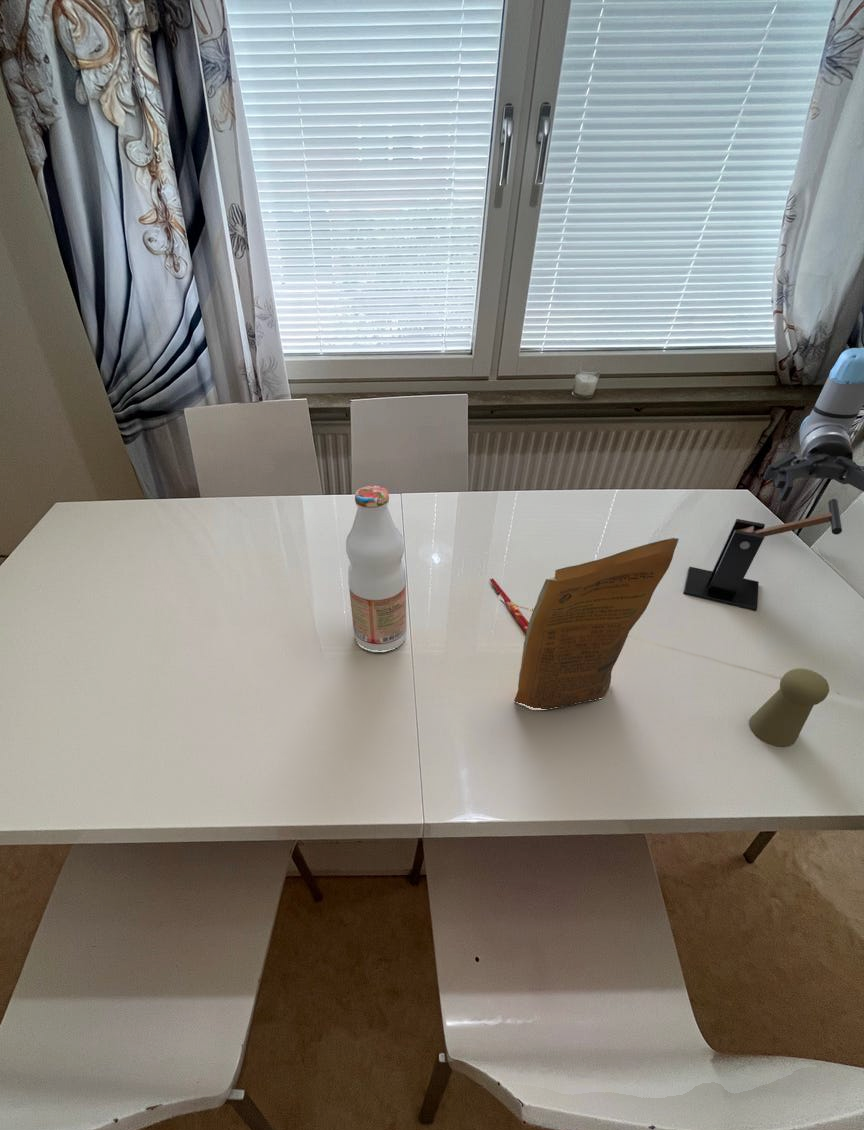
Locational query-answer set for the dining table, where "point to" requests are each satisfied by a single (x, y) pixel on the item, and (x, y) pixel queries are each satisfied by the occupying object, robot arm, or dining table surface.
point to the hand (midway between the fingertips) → (833, 501)
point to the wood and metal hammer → (805, 522)
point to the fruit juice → (376, 573)
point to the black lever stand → (730, 571)
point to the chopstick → (512, 607)
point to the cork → (789, 707)
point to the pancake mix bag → (587, 624)
